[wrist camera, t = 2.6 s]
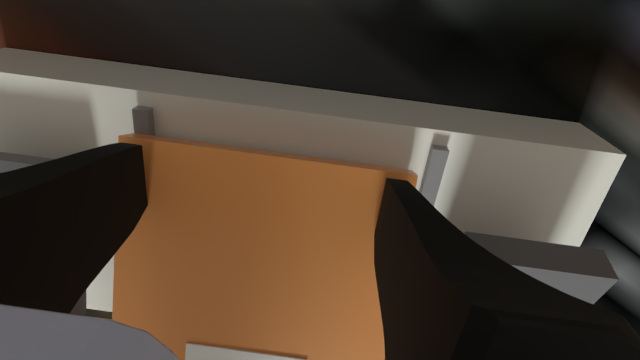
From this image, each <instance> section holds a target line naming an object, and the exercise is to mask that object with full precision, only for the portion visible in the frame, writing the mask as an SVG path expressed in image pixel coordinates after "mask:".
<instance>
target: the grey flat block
mask: <svg viewBox="0 0 640 360" xmlns="http://www.w3.org/2000/svg"><path fill="white" fill-rule="evenodd" d="M464 234H465V235H467V236H468V237H469V238H471V239H472V240H473V241H475V242H476V243H477V244H479V245H480V246H482V247H483V248H485V249H486V250H487V251H489V252H490V253H492V254H493V255H495V256H497V257H498V258H500V259H501V260H503V261H505V262H506V263H508V264H510V265H512V266H513V267H515V268H517V269H519V270H520V271H522V272H524V273H526V274H527V275H529V276H531V277H533V278H535V279H537V280H539V281H541V282H543V283H545V284H547V285H549V286H552V287H554V288H556V289H558V290H560V291H562V292H564V293H566V294H569V295H571V296H573V297H576V298H578V299H581V300H583V301H586V302H588V303H591V304H594V303H595V302H596V301H597V300H598V299H599V298H600V297H601V296H602V295H603V294H604V293H605V292H606V291H607V290H609V289H610V288H611V287H612V286H613V285H614V284H615V283H616V282H617V281H618V280H619V279H618V277H617V275H616V273H615V271H614V269H613V267H612V265H611V263H610V262H609V260H608V258H607V256H606V254H605V252H604V250H600V249H592V248H585V247H577V246H570V245H562V244H555V243H548V242H540V241H533V240H525V239H518V238H511V237H503V236H496V235H488V234H481V233H473V232H466V231H465V233H464Z"/></svg>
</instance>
